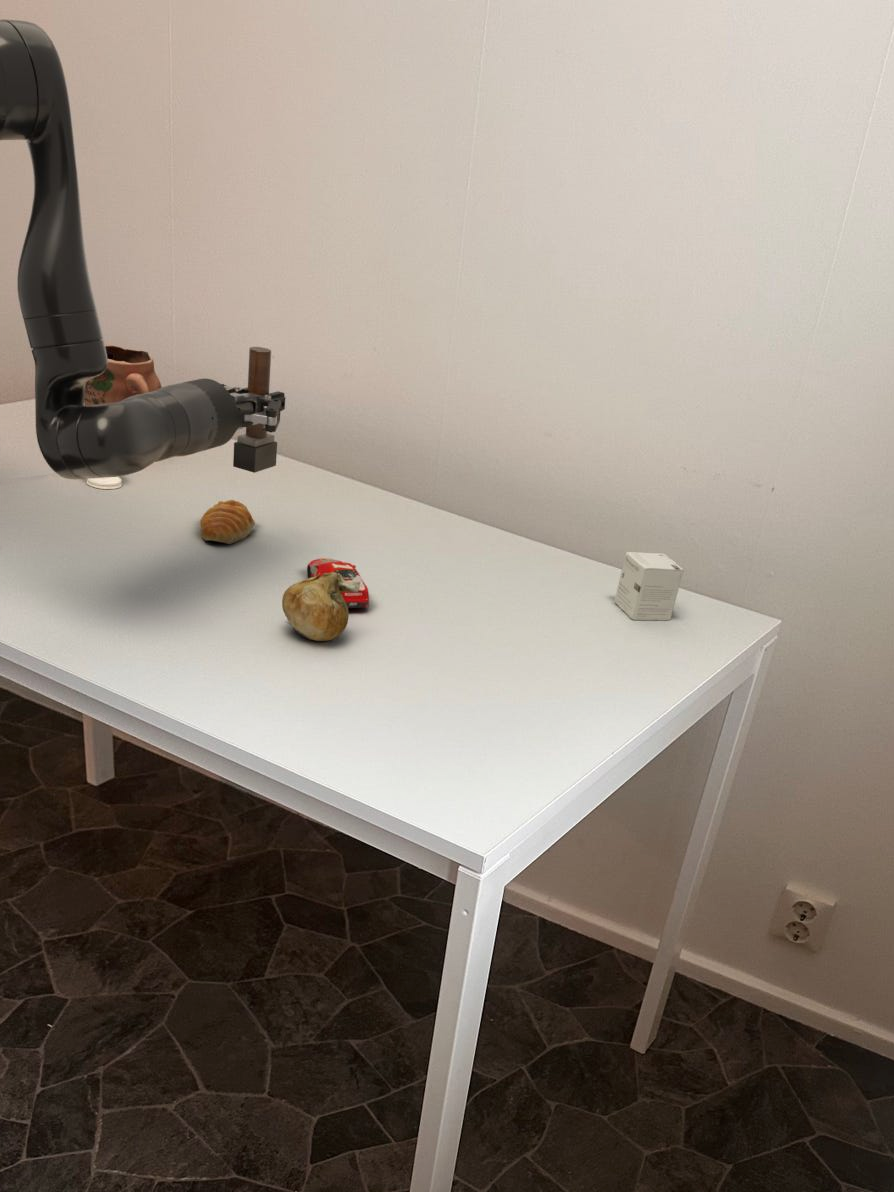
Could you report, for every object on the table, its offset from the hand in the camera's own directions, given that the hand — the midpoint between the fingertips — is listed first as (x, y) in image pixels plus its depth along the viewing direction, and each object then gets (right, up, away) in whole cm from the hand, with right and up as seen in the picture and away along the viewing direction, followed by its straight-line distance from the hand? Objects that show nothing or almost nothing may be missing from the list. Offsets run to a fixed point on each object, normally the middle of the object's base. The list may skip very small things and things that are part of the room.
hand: (270, 397), depth 148 cm
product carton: (+48, -24, +13) cm, 56 cm away
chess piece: (-28, -3, +24) cm, 37 cm away
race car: (+8, -24, +2) cm, 26 cm away
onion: (+7, -32, -10) cm, 34 cm away
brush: (-2, -8, +2) cm, 9 cm away
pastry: (-8, -13, +14) cm, 21 cm away
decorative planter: (-31, +8, +41) cm, 52 cm away
